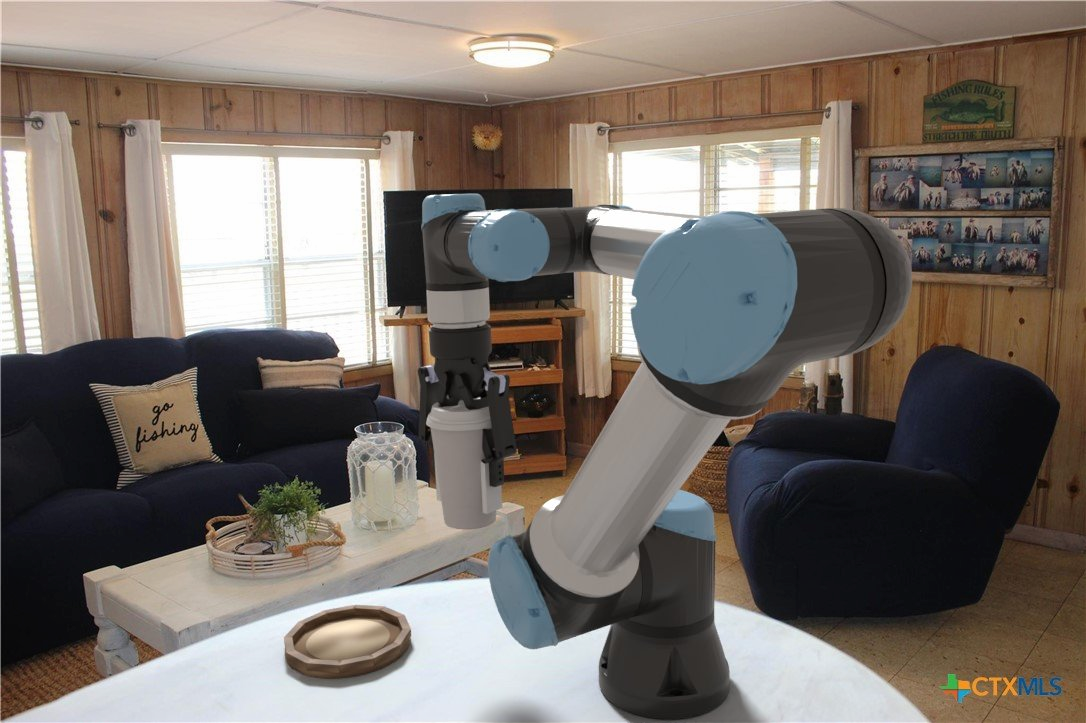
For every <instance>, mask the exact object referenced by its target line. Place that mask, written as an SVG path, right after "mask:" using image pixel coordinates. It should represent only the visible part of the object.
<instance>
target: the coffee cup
mask: <svg viewBox="0 0 1086 723" xmlns="http://www.w3.org/2000/svg"><path fill="white" fill-rule="evenodd" d="M477 399H480V397H478V398H477ZM477 399H474V400H477ZM426 424H427V426H429V427H430V428H431V434H432V441H433V447H434V454H435V460H436V467H437V474H438V481H439V488H440V495H441V501H440V502H441V509H442V515H443V521H444V524H445V526H447V527H449V528H451V529H455V530H463V531H464V530H478V529H482V528H486V527H489V526H491V525H492V524H494V523H495V522H496V520H497V510H496V511H493V512H491V513H488V514H486V513H483V507H482V488H481V460H482V459H485V456H484V453H483V450H482V433H483V429H491V428H492V426H491V419H490V413H489V406H488V407H484V408H481V409H477V410H469V409H467V408H466V407H465V404H464V401H462V400H460V401H459V403H458V405H456V406H446V407H441V406H440V403H438V402H437V403H435V404H433V405H432V409H431V412H430V413H429V415H428V417H427V421H426ZM493 450H495V448H493Z"/></svg>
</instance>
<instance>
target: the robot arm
mask: <svg viewBox="0 0 1086 723" xmlns="http://www.w3.org/2000/svg"><path fill="white" fill-rule="evenodd" d="M421 206H422V207H421V208H422V209H421V210H422V212H421V214H422V215H421V217H422V220H421V225H420V226H421V228H420V229H421V232H422V243H423V244H422V245H423V254H424V256H423V257H424V268H425V270H424V271H425V283H426V286H425V287H426V311H427V314H426V315H427V321H428V322H429V323H431V324H432V325H431V326H430V327H429V329H428V339H429V342H428V343H429V344H428V345H429V354H430V355H431V357H432V358H435V362H434V364H430V365H429V364H428V365H425V366H421V367H419V368H417V376H418V380H419V381H418V382H419V385H420V386H419V388H420V389H419V390H420V391H419V414H418V415H419V416H418V440H419V442H421V443H426V444H428V447H429V449H430V450H431V460H432V462H431V463H432V470H433V471H432V472H434V474H435V488H436V489H435V490H436V501H438V502H441V495H440V488H439V481H438V474H437V467H436V460H435V454H434V447H433V441H432V434H431V428H430V427H429V426H427V424H426V421H427V417H428V415H429V413H430V412H431V409H432V405H433V404H435V403H437V402H438V403H440V406H441V407H446V406H456V405H458V403H459V401H460V400H462V401H464V404H465V407H466V408H467V409H469V410H477V409H481V408H484V407H488V406H489V413H490V419H491V426H492V428H491V429H483V433H482V450H483V453H484V456H485V459H482V460H481V488H482V507H483V513H486V514H488V513H491V512H493V511H496V512H497V511H498V510H500V509H503V493H502V492H503V490H502V485H504V483H505V467H504V466H505V465H504V460H505V458H510V457H511V456H514V455H516V454H517V452H518V451H517V442H516V436H515V430H514V423H513V417H512V409H511V402H510V396H509V392H510V391H509V390H510V383H511V379H510V376H509V375H508V374H507V373H503V374H497V373H495V372H493V371H492V369H491V366H490V364H489V356H490V354H491V353H492V350H493V348H492V346H493V344H492V327H491V325H490V324H489V323H487V320H489V319H490V317H491V314H490V307H491V306H490V287H489V286H490V285H489V284H490V283H489V280H490V279H491V280H495V281H496V282H502V283H506V282H520V281H525V280H528V279H530V278H532V277H536V276H537V277H538V276H547V275H558V274H559V275H561V274H565V273H569V274H570V273H583V272H585V273H588V272H590V273H597V274H602V275H608V276H614V277H619V278H624V279H629V280H633V284H632V288H631V296H633V297H635V300H636V303H635V305H634V306H631V308H630V317H631V318H630V319H631V325H632V326H631V327H632V329H633V333H634V337H635V340H636V346H637V352H638V355H639V358H640V361H641V363H640V365H639V366H638V368H637V370H636V371H635V373H634V375H633V377H632V379H631V380H630V382H629V383H628V385H627V387H626V389H625V390H624V393H623V394H622V396H621V397H620V399H619V401H618V402H617V404H616V406H615V407H614V409H613V411H612V413H611V415H610V416H609V418H608V420H607V421H606V422H605V425H604V426H603V428H602V429H601V431H600V433H599V435H598V436H597V439H596V440H595V442H594V444H593V445H592V447H591V448H590V451H589V452H588V454H587V456H586V457H585V459H584V460H583V462H582V465H581V466H580V467H579V469H578V471H577V472H576V474H575V475H574V478H573V480H572V481H571V482H570V484H569V487H567V489H566V491H565V493H564V494H563V495H559V496H556V497H553V498H551V499H549V500H548V501H546V502H545V503H544V504H543V505H542V506H541V507H540V508H539V509H538V510H537V511H536V513H535V514H534V516H533V518H532V519H531V521H530V522H529V524H528V527H527V528H526V529H525V531H523V532H521V533H520V534H516V535H513V536H512V535H510V534H507V535H506V536H505V537H503V538H500V539H497V540H496V541H495V542H494V543H493V544H492V545H491V547H490V549H489V552H488V557H487V572H488V579H489V584H490V589H491V593H492V596H493V599H494V603H495V605H496V609H497V611H498V614H499V616H500V618H501V620H502V622H503V625H504V626H505V628H506V629H507V631H508V632H509V634H510V635H511V637H512V638H513V640H515V641H516V642H517V643H518V644H519V645H521V646H522V647H523V648H526V649H529V650H539V649H542V648H547V647H552V646H554V647H557V645H559V643H562V642H563V641H567V640H569V639H573V638H575V637H578V636H582V635H584V634H588V633H590V632H593V631H596V630H598V629H603V628H605V627H608V626H610V627H609V630H608V633H607V636H606V639H605V642H604V645H603V648H602V652H601V654H600V657H599V660H598V685H599V689H600V691H601V693H602V695H604V697H605V698H606V699H607V700H608V701H609V702H611V703H612V704H613V705H614V706H616V707H618V708H619V709H621V710H624V711H626V712H629V713H632V714H635V715H637V716H642V717H646V718H652V719H658V720H659V719H661V720H662V719H663V720H676V719H677V720H678V719H686V718H691V717H697V716H700V715H703V714H706V713H708V712H710V711H712V710H714V709H716V708H717V707H718V706H720V705H721V704H722V703H723V702H724V701H725V700H726V698H727V697H728V695H729V692H730V684H731V683H730V682H731V681H730V679H731V678H730V677H731V676H730V674H731V672H730V666H729V662H728V660H727V658H726V655H725V652H724V648H723V645H722V642H721V639H720V636H719V634H718V630H717V627H716V623H715V593H716V592H715V591H716V590H715V588H716V586H715V583H716V582H715V581H716V541H717V534H715V532H716V531H715V515H714V510H713V507H712V506H711V505H710V504H709V502H708V501H706V500H705V499H704V498H702V497H701V496H699V495H697V494H694V493H692V492H688V491H685V490H682V489H681V488H682V486H683V485H684V484H685V483H686V481H687V479H689V477H690V476H691V474H692V473H693V472H694V470H695V469H696V468H697V466H698V465H699V464H700V462H701V461H702V459H703V458H704V457H705V455H706V454H707V453H708V451H709V450H710V449H711V447H712V446H713V445H714V443H715V442H716V441H717V439H718V438H719V436H720V435H721V434H722V432H723V431H724V430H725V428H726V427H727V425H728V424H729V423H730V422H731V420H740V419H746V418H750V417H753V416H754V415H756V414H758V413H759V412H760V411H762V409H764V408H765V407H767V404H768V403H769V402H770V400H771V399H772V398H773V396H774V395H775V394H776V393H777V392H778V390H779V389H780V388H781V386H782V385H783V383H785V381H786V380H787V379H788V377H789V376H790V375H791V374H792V373H793V371H794V370H796V369H797V368H799V367H800V366H801V365H804V364H808V363H813V362H815V363H816V362H820V361H825V360H829V359H836V358H840V357H845V356H849V355H853V354H854V355H855V354H857V353H859V352H862V351H864V350H866V349H868V348H871V347H872V346H874V345H875V344H877V343H878V342H880V341H882V340H883V339H885V337H886V336H887V335H888V334H889V333H890V332H891V331H892V330H893V329H894V328H895V327H896V326H897V325H898V323H899V322H900V320H901V318H902V317H903V315H904V314H905V312H906V309H907V307H908V303H909V301H910V298H911V293H912V292H911V291H912V286H913V274H912V266H911V265H912V264H911V261H910V257H909V255H908V252H907V250H906V248H905V245H904V244H903V242H902V241H901V239H900V238H899V236H898V235H897V234H896V233H895V232H894V231H893V230H892V229H891V228H890V227H889V226H888V225H887V224H886V223H884V222H883V221H881V220H880V219H878V218H877V217H875V216H872V215H870V214H868V213H865V212H862V211H859V210H855V209H850V208H843V207H842V208H841V207H829V208H817V209H801V210H789V211H788V210H787V211H778V212H775V211H774V212H763V213H751V212H748V211H740V210H737V211H736V210H730V211H729V210H728V211H719V212H716V213H712V214H709V215H706V216H705V215H697V214H685V213H675V212H674V213H673V212H661V211H651V210H641V209H633V208H632V207H631V206H627V205H617V204H612V203H611V204H598V205H593V206H592V205H590V206H589V205H588V206H572V207H571V206H570V207H544V208H543V207H541V208H517V209H515V208H509V209H505V208H504V209H503V208H500V209H494V210H492V209H489V210H487V209H486V202H485V199H484V198H483V196H482V195H481V194H479V193H452V194H450V193H449V194H431V195H427V196H426V197H425V198H424V199H423V201H422V205H421ZM477 398H480V399H477ZM474 399H477V400H474ZM493 448H495V450H493Z"/></svg>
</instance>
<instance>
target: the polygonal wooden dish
mask: <svg viewBox="0 0 1086 723" xmlns="http://www.w3.org/2000/svg"><path fill="white" fill-rule="evenodd" d="M411 637H412V628H411V626H410V624H409V622H408V619H407V617H406V615H405V614H403V613H401V612H399V611H396V610H394V609H392V608H389V607H387V606H383V605H370V604H369V605H368V604H367V605H366V604H352V605H346V606H342V607H341V606H340V607H336V608H334V607H333V608H330V609H324V610H322V611H319V612H317V613H315V614H313V615H311V616H309V617H306V618H304V619H302V620H300V621H297V623H296V624H295V625H294V626H293V627H291V629H290V630H289V631H288V632H287V633H286V634H285V635H284V636H283V640H284V641H283V642H284V656H285V661H286V663H287V665H288V666H289V667H290V669H292V670H294V671H295V672H297V673H299V674H301V675H304V676H307V677H311V678H318V679H330V680H331V679H345V678H347V679H348V678H353V677H359V676H363V675H367V674H370V673H373V672H376V671H378V670H379V671H380V670H381V669H383V668H385V667H388V666H389V665H391V664H393V663H394V662H396V661H397V660H398V659H400V658H401V657H402V656H403V655H404V654H405V653H406V652H407V651H408V648H409V647H410V644H411Z"/></svg>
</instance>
